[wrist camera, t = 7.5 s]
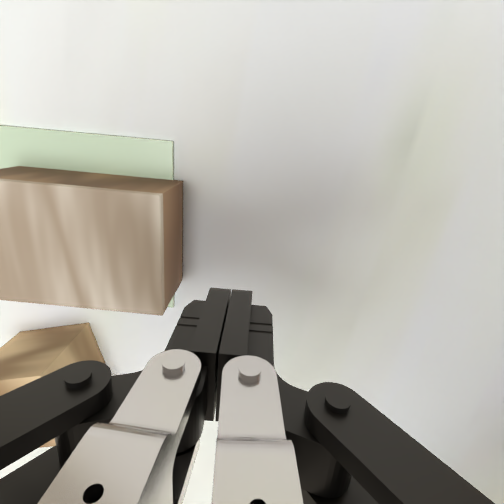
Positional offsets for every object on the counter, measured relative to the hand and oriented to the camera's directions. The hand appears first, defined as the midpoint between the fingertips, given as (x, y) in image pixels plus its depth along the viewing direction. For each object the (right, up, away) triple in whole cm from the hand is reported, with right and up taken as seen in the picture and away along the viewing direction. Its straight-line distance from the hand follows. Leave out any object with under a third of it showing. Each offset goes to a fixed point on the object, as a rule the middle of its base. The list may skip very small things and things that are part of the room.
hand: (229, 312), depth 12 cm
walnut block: (-3, +3, +5) cm, 7 cm away
